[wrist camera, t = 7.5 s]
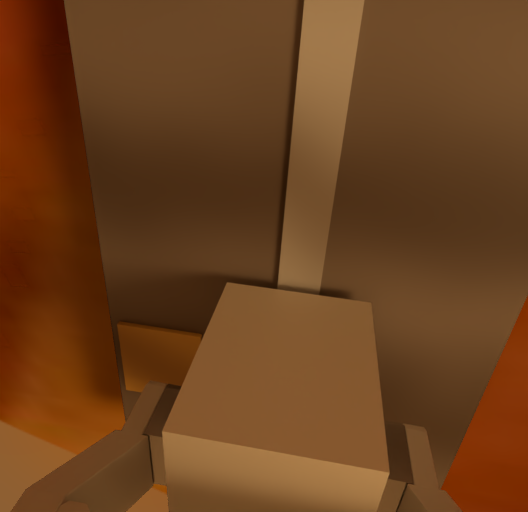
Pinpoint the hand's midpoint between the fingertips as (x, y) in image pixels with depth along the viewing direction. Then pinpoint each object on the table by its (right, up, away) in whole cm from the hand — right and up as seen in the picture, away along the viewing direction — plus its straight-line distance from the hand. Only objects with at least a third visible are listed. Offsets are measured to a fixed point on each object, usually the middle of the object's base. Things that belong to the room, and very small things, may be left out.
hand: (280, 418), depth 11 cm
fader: (0, +1, +2) cm, 2 cm away
